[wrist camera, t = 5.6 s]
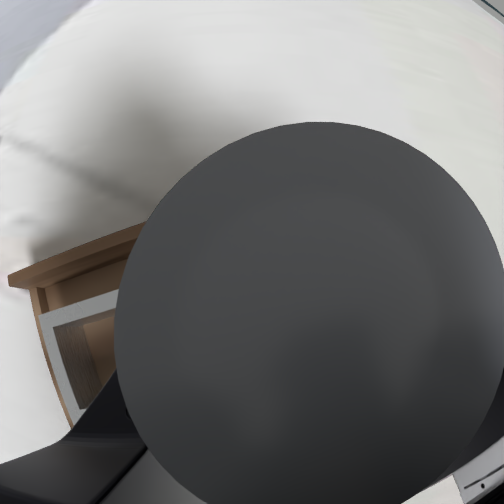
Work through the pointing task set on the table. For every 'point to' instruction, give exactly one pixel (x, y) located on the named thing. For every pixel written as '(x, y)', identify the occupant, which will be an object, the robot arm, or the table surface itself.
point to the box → (80, 291)
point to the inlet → (75, 349)
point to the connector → (311, 321)
